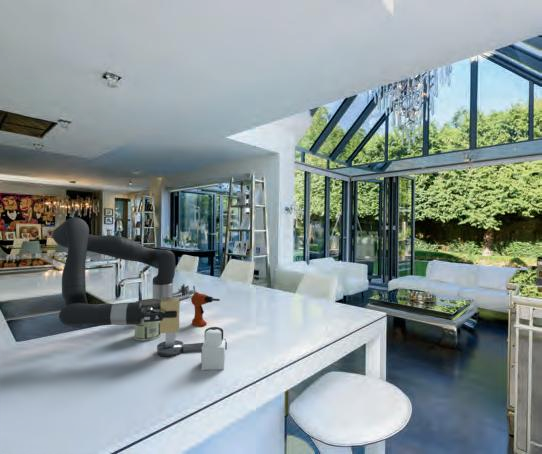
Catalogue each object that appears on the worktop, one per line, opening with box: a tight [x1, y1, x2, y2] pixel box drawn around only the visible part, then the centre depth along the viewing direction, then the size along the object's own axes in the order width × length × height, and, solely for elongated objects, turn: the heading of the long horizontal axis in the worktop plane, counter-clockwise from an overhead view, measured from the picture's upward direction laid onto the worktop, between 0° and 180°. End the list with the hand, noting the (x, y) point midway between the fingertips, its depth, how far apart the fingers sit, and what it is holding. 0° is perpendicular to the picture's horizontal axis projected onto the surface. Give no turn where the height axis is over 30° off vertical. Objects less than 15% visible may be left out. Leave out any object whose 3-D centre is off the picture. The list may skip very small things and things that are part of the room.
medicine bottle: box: [200, 326, 227, 371], centre depth 101 cm, size 7×7×12 cm
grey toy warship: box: [173, 283, 198, 301], centre depth 191 cm, size 14×7×20 cm
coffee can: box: [133, 298, 162, 342], centre depth 126 cm, size 10×10×14 cm
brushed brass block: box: [160, 296, 181, 334], centre depth 111 cm, size 6×6×11 cm
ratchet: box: [156, 332, 228, 358], centre depth 113 cm, size 24×9×8 cm, turn 103°
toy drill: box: [190, 291, 221, 328], centre depth 139 cm, size 5×19×15 cm, turn 52°
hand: (177, 311), depth 112 cm, fingers closed on brushed brass block, 6 cm apart
